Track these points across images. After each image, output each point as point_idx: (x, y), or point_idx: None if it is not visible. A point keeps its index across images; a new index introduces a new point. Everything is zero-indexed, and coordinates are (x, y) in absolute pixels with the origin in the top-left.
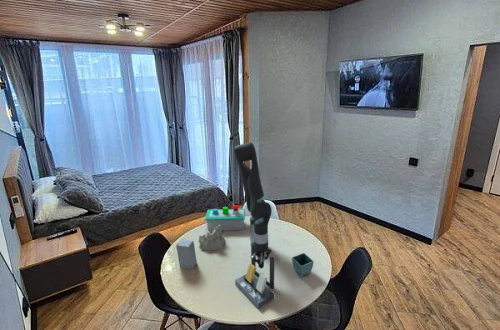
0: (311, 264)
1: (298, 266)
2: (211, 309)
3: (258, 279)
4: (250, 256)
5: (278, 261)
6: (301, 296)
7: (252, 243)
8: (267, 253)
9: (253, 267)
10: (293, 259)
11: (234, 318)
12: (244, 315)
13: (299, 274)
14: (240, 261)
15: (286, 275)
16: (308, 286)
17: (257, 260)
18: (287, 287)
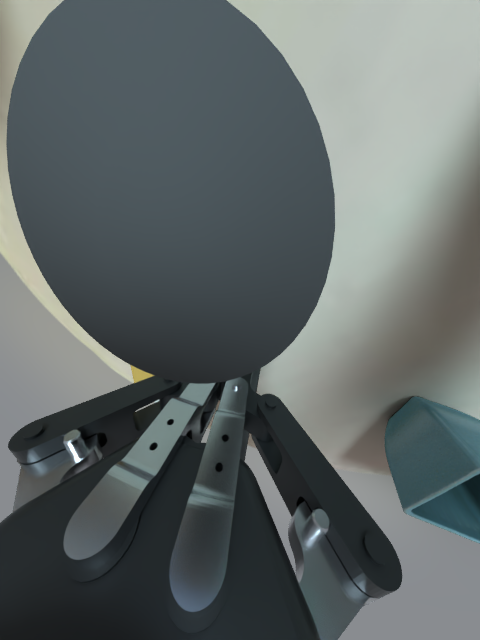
0: (468, 521)
1: (409, 476)
2: (42, 282)
3: (155, 401)
4: (14, 438)
5: (462, 287)
6: None
7: (125, 182)
8: (287, 498)
9: (136, 380)
10: (461, 474)
11: (96, 351)
12: (121, 364)
13: (393, 418)
14: (288, 51)
15: (356, 376)
16: (347, 447)
17: (140, 434)
18: (293, 403)
